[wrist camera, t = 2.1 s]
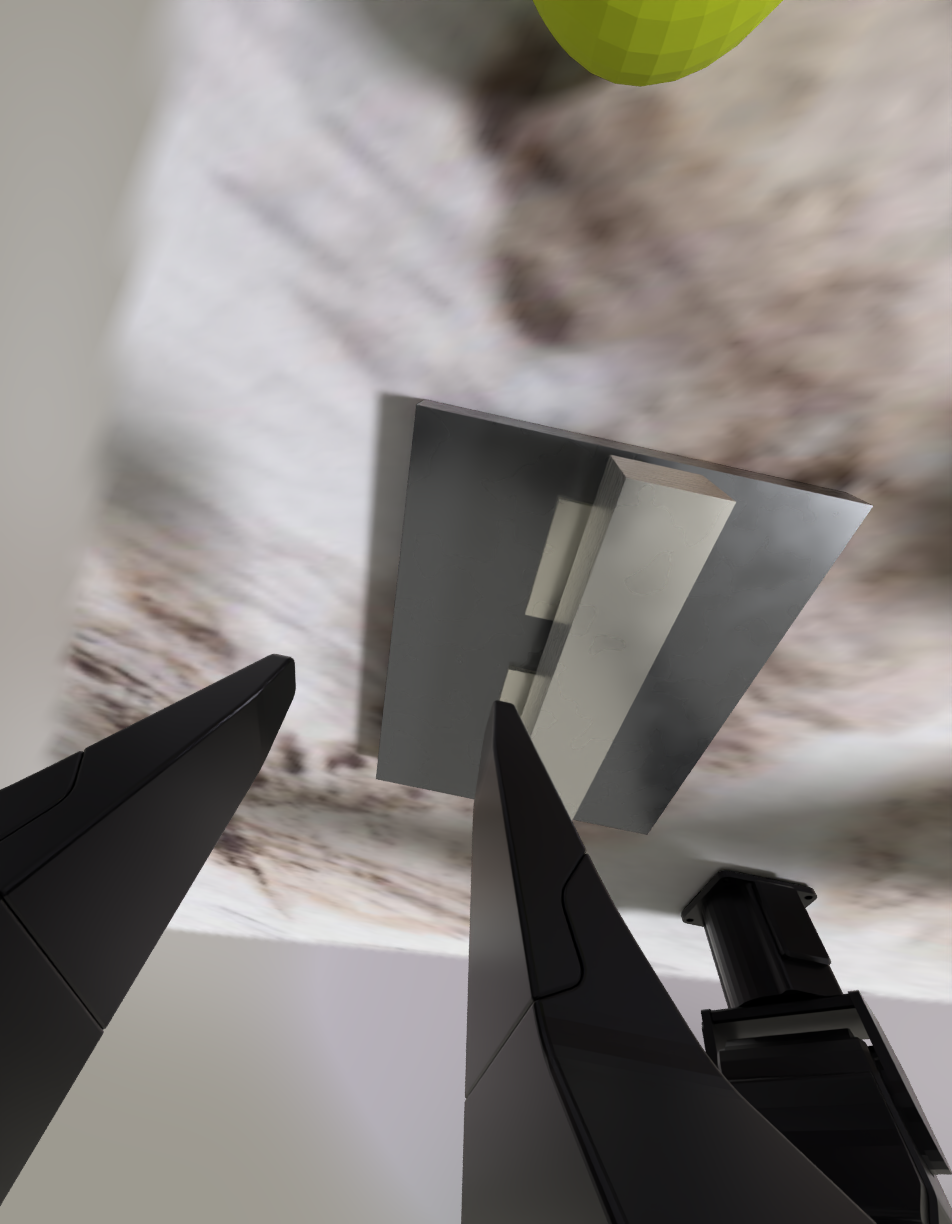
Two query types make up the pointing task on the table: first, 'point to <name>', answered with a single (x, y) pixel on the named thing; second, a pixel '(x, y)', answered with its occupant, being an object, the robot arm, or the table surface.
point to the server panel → (533, 587)
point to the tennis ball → (650, 34)
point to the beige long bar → (618, 612)
